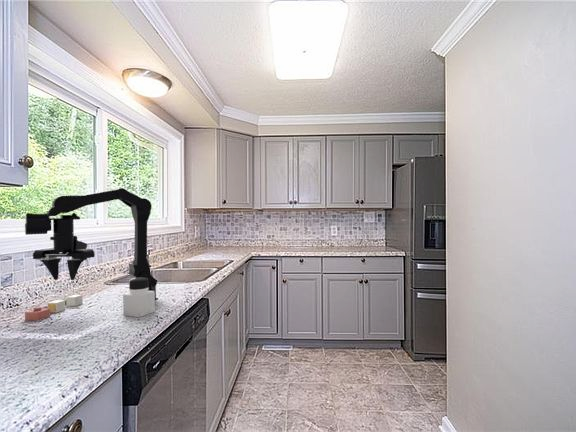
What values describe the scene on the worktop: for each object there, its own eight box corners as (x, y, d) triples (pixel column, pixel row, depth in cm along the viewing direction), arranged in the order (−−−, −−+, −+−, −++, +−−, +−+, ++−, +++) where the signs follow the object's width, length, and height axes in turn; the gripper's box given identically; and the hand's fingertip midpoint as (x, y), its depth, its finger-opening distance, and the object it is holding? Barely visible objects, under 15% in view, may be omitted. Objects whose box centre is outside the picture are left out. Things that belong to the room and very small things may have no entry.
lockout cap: (50, 321, 109) (50, 306, 109) (38, 325, 105) (37, 309, 105) (37, 320, 110) (37, 305, 110) (25, 325, 105) (24, 309, 105)
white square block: (82, 303, 125) (82, 295, 125) (75, 306, 121) (75, 297, 121) (73, 303, 125) (73, 294, 125) (66, 306, 122) (66, 297, 122)
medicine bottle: (155, 311, 117) (154, 276, 117) (140, 317, 111) (139, 280, 111) (138, 310, 120) (138, 275, 120) (122, 315, 113) (122, 279, 113)
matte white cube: (65, 309, 117) (65, 300, 117) (56, 312, 113) (56, 303, 113) (56, 309, 117) (55, 300, 117) (46, 312, 113) (46, 303, 113)
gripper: (105, 231, 121) (105, 275, 121) (58, 232, 124) (59, 275, 124) (81, 233, 110) (82, 281, 110) (31, 234, 113) (31, 281, 113)
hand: (64, 279), depth 115 cm, fingers open, 6 cm apart
